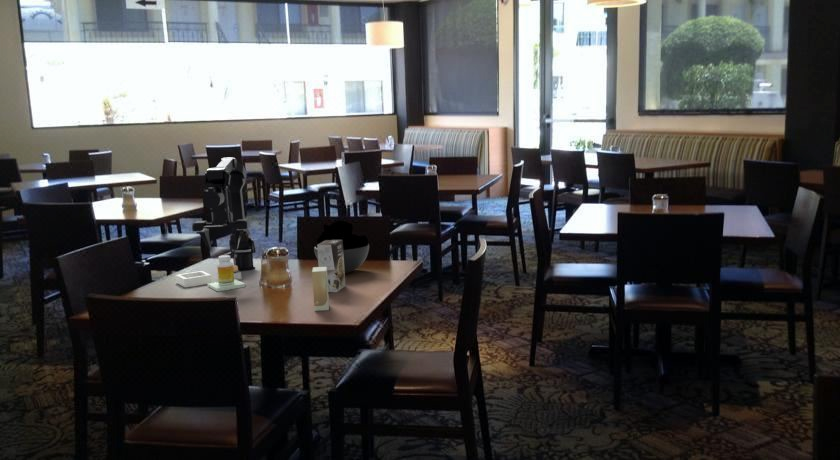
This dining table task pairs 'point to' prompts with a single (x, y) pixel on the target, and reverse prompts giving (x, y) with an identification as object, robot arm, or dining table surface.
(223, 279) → the supplement bottle
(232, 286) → the pad
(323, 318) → the dining table surface
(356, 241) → the coal bowl
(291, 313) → the dining table surface
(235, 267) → the orange round lump
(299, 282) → the dining table surface
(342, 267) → the coffee box
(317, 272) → the skincare box
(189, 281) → the white square tray
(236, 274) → the plunger collar
